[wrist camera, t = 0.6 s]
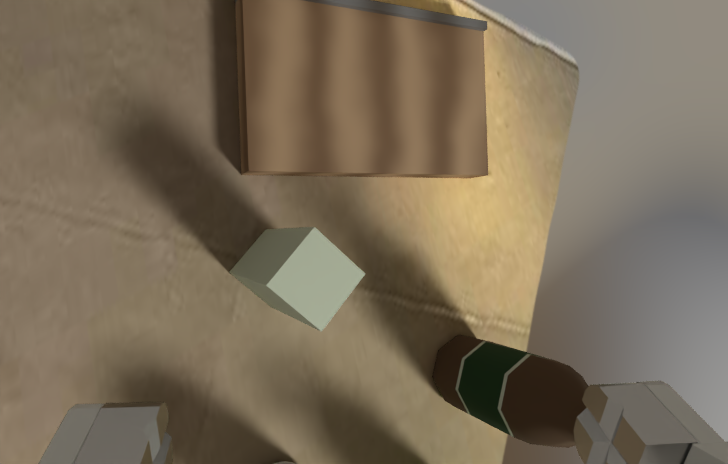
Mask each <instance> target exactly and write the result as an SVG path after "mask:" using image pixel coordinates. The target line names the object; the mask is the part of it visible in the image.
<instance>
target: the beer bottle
mask: <svg viewBox="0 0 728 464" xmlns="http://www.w3.org/2000/svg"><path fill="white" fill-rule="evenodd" d="M433 379H434V381H435V383H436V385H437V387H438V388H439V390H440V392H441V394H442V396H443V398H444V400H445V401H447V402H448V403H450V404H451V405H453V406H455V407H456V408H458V409H460V410H462V411H464V412H466V413H468V414H470V415H472V416H474V417H476V418H478V419H480V420H482V421H483V422H485V423H487V424H489V425H491V426H493V427H495V428H497V429H499V430H501V431H503V432H505V433H507V434H509V435H511V436H512V437H514V438H517V439H520V440H522V441H525V442H527V443H530V444H536V445H544V446H551V447H566V448H569V447H572V446H575V440H574V426H575V422H576V418H577V416H578V415H580V414H581V413H582V412H583V411H584V410H585V409H586V406H585V405H584V403H583V401H582V398H583V395H584V392H585V390H586V389H587V388H588V387H589V386H588V385H587V383H586V382H585V380H584V379H583V377H582V376H581V375H580V374H579V373H577V372H576V371H575V370H574V369H573V368H571V367H570V366H568V365H565V364H562V363H560V362H558V361H555V360H552V359H548V358H545V357H541V356H538V355H534V354H530V353H527V352H524V351H520V350H517V349H514V348H510V347H507V346H503V345H500V344H496V343H493V342H489V341H485V340H480V339H476V338H472V337H467V336H462V335H458V336H456V337H455V338H454V339H452V340H451V341H450V342H449V343H447V344H446V345H445V346H444V347H442V348H441V349H440V350H439V351H438V354H437V359H436V363H435V368H434V372H433Z"/></svg>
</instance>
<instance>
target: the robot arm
mask: <svg viewBox="0 0 728 464" xmlns="http://www.w3.org/2000/svg"><path fill="white" fill-rule="evenodd" d="M582 401H583V403H584V405H585V406H586V409H585V410H584V411H583V412H582V413H581V414H580V415H578V416H577V418H576V422H575V426H574V440H575V446H576V448H577V451H578V454H579V456H580V457H581V459H582V461H583V462H584V464H728V442H725V441H724V440H723V439H722V438H721V437H720V436H719V435H718V434H717V433H716V432H715V431H714V430H713V429H712V428H711V427H710V426H709V425H708V424H707V423H706V422H705V421H704V420H703V419H702V418H701V417H700V416H699V415H698V414H697V413H696V412H695V411H694V410H693V409H692V408H691V407H690V406H689V405H688V404H687V403H686V402H685V401H684V400H683V399H682V398H681V397H680V396H679V395H678V394H677V392H676V391H675V390H674V389H672V387H671V386H670V385H668V384H666V383H664V382H662V381H646V382H636V383H614V384H593V385H590V386H589V387H588V388H587V389H586V390H585V392H584V395H583V398H582ZM168 421H169V415H168V409H167V404H166V403H164V402H136V403H106V404H76V405H74V406H73V407H72V408H71V409H69V410H68V412H67V414H66V415H65V417H64V419H63V421H62V423H61V424H60V426H59V428H58V430H57V431H56V433H55V435H54V437H53V438H52V440H51V442H50V444H49V446H48V447H47V449H46V451H45V453H44V454H43V456H42V458H41V460H40V462H39V463H38V464H172V463H173V445H172V437H171V436H170V435H169V434H167V433H166V432H165V431H166V428H167V424H168Z"/></svg>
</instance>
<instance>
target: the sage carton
mask: <svg viewBox="0 0 728 464" xmlns="http://www.w3.org/2000/svg"><path fill="white" fill-rule="evenodd" d="M229 273H230V274H232V275H233V276H234V277H235V278H236V279H238V280H239V281H240V282H241V283H243V284H244V285H245V286H246V287H247V288H249V289H250V290H251V291H252V292H253V293H255V294H256V295H257V296H258V297H260V298H261V299H262V300H263V301H264V302H266V303H267V304H268V305H269V306H271V307H272V308H274V309H276V310H278V311H280V312H282V313H284V314H287V315H289V316H291V317H293V318H295V319H297V320H299V321H301V322H303V323H305V324H307V325H309V326H311V327H313V328H315V329H317V330H319V331H321V332H322V331H323V329H324V328H325V327H326V325H327V324H328V323H329V321H330V320H331V319H332V317H333V316H334V315H335V313H336V312H337V311H338V309H339V308H340V307H341V305H342V304H343V303H344V301H345V300H346V299H347V298H348V296H349V295H350V294H351V292H352V291H353V290H354V288H355V287H356V286H357V284H358V283H359V282H360V280H361V279H362V278H363V276H364V275H365V273H364V272H363V271H362V270H361V269H360V268H359V267H357V266H356V265H355V264H354V263H353V262H352V261H351V260H350V259H349V258H348V257H347V256H346V255H344V254H343V253H342V252H341V251H340V250H339V249H338V248H337V247H336V246H335V245H334V244H332V243H331V242H330V241H329V240H328V239H327V238H326V237H325V236H324V235H323V234H322V233H321V232H319V231H318V230H317V229H316V228H315V227H303V228H283V229H266V230H265V231H264V232H263V233H262V234H261V236H260V237H259V238H258V239H257V240H256V241H255V243H254V244H253V245H252V246H251V247H250V248H249V250H248V251H247V252H246V253H245V254H244V255H243V256H242V258H241V259H240V260H239V261H238V262H237V263H236V265H235V266H234V267H233V268H232V269H231V270H230V272H229Z"/></svg>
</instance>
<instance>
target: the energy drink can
mask: <svg viewBox="0 0 728 464" xmlns="http://www.w3.org/2000/svg"><path fill="white" fill-rule="evenodd" d="M274 464H296V463H293V462H287V461H285V462H278V463H274Z"/></svg>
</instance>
